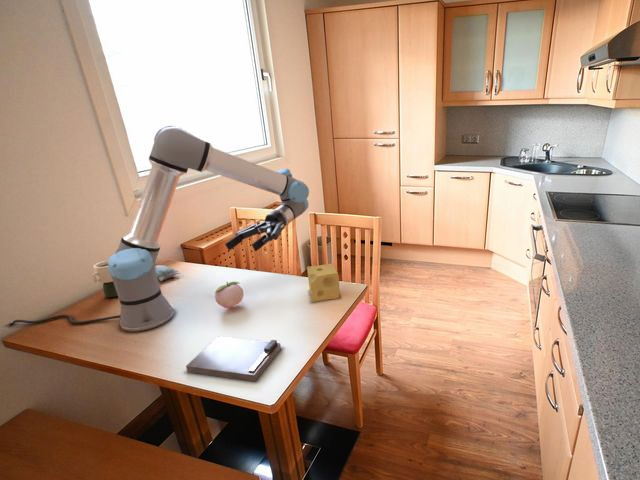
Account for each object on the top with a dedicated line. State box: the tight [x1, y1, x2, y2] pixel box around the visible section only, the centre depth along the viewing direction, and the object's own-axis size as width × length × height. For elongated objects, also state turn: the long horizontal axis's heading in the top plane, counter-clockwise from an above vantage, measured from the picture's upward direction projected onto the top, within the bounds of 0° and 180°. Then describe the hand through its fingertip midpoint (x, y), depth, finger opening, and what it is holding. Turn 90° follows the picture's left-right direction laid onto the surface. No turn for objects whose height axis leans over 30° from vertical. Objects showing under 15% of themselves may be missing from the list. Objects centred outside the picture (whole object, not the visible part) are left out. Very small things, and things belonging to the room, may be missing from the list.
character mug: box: [91, 260, 118, 298], centre depth 141 cm, size 11×7×13 cm, turn 159°
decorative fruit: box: [214, 281, 244, 309], centre depth 130 cm, size 9×8×10 cm
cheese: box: [306, 263, 340, 303], centre depth 137 cm, size 10×11×10 cm
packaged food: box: [155, 264, 181, 282], centre depth 156 cm, size 9×12×5 cm
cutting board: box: [185, 335, 282, 383], centre depth 104 cm, size 20×14×3 cm
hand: (240, 247), depth 132 cm, fingers open, 13 cm apart
